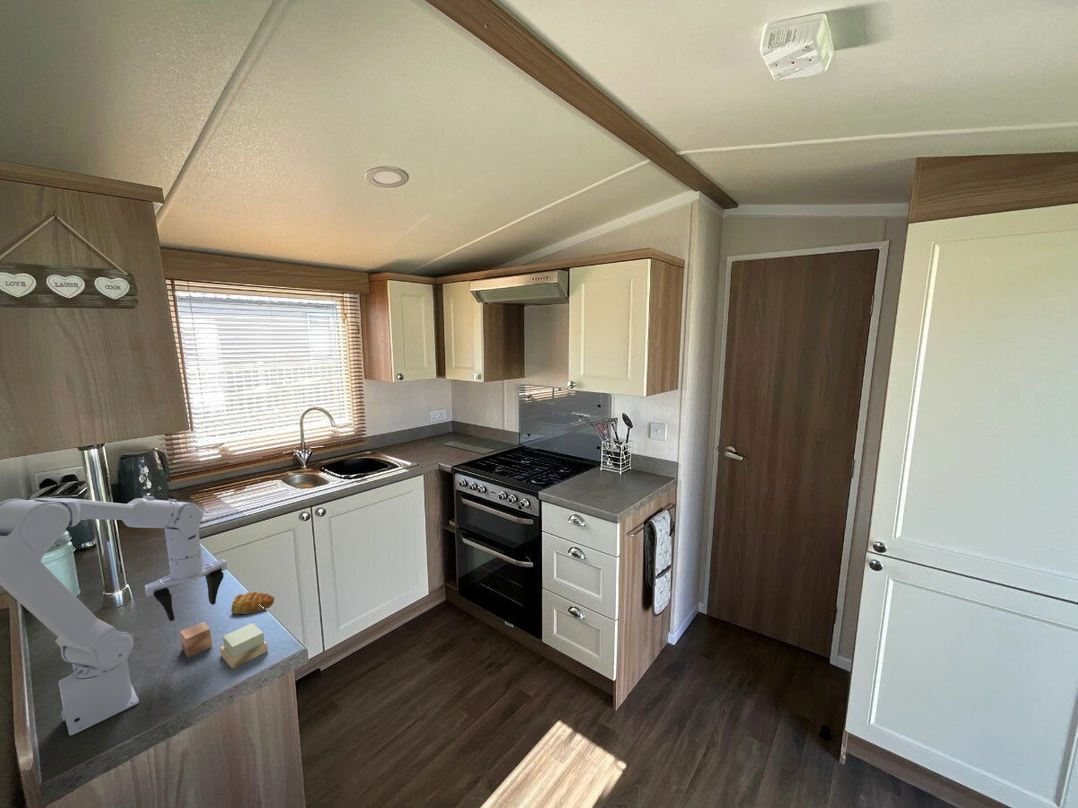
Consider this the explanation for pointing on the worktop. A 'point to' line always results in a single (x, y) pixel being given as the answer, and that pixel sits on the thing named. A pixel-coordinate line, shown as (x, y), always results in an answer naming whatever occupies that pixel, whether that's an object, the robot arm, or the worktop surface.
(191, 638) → the terracotta cube
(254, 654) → the oak slab
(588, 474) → the worktop surface
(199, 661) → the worktop surface
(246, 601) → the pastry
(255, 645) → the sage slab
